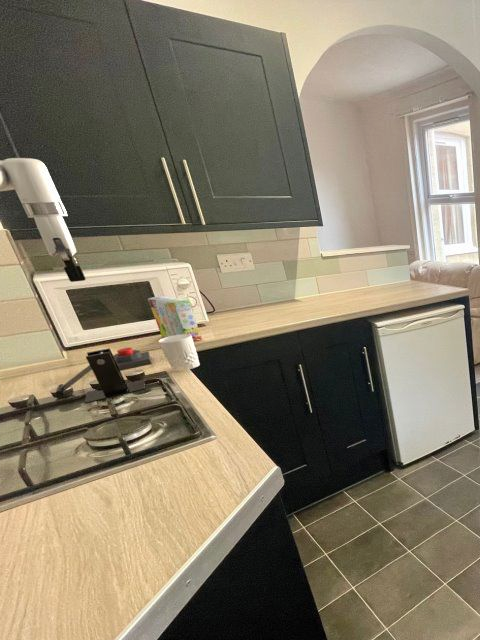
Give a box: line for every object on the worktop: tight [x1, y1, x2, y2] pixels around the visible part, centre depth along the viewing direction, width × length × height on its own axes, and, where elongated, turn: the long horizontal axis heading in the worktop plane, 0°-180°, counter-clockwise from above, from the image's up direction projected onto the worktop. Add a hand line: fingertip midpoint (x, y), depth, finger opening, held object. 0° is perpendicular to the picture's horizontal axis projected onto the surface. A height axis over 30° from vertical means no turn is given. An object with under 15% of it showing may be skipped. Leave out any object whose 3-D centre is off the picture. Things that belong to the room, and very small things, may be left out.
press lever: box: [54, 351, 103, 397], centre depth 106 cm, size 13×6×2 cm
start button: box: [117, 347, 134, 356], centre depth 130 cm, size 4×4×2 cm
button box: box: [113, 349, 153, 372], centre depth 131 cm, size 10×10×4 cm
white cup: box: [157, 334, 201, 372], centre depth 124 cm, size 8×8×10 cm
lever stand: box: [84, 347, 147, 405], centre depth 109 cm, size 12×9×12 cm
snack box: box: [147, 295, 203, 343], centre depth 155 cm, size 21×6×15 cm, turn 59°
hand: (78, 280), depth 119 cm, fingers closed
